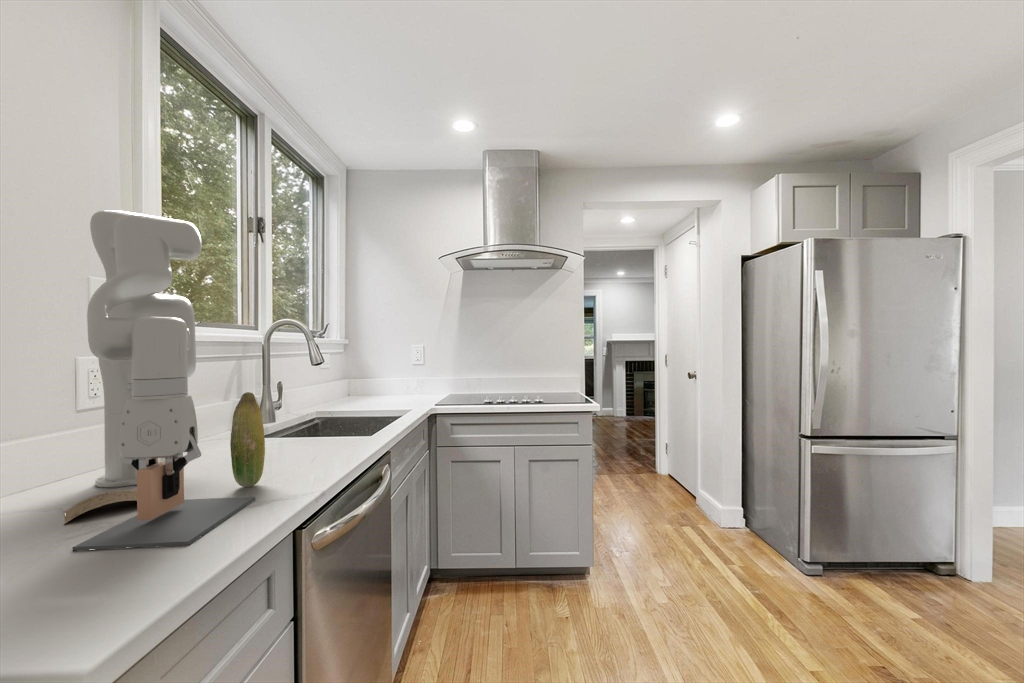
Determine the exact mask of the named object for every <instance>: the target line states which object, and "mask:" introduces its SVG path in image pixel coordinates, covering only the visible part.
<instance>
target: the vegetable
mask: <svg viewBox="0 0 1024 683" xmlns="http://www.w3.org/2000/svg"><path fill="white" fill-rule="evenodd" d="M229 445H230V457H231V469H232V470H231V471H232V474H233V477H234V481H235V482H236V483H237V485H239V486H241V487H243V488H251V487H254V486H255V485H257V484H258V483H259V481H260V480H261V478H262V475H263V473H264V465H265V457H266V449H265V448H266V440H265V429H264V424H263V417H262V410H261V408H260V405H259V404H258V402H257V398H256V396H255V394H254V393H253V392H249V391H246V392H244V393H243V394H242V395H241V397H240V399H239V401H238V403H237V404H236V406H235V408H234V411H233V414H232V422H231V431H230V443H229Z"/></svg>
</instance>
